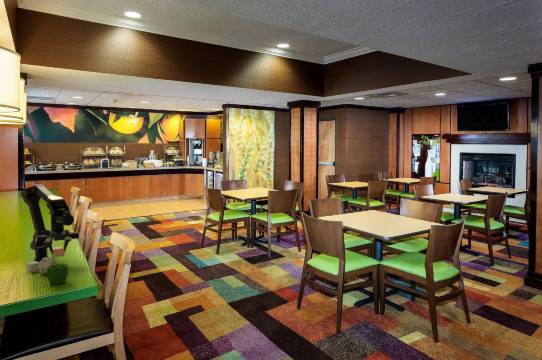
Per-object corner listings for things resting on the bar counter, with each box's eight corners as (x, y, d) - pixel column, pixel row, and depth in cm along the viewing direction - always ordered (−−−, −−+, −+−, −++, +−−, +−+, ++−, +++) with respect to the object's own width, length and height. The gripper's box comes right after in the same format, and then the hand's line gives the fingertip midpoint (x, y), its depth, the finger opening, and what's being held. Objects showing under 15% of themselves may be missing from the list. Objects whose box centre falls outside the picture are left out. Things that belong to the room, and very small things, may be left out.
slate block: (27, 271, 185) (27, 262, 184) (36, 269, 188) (36, 261, 188) (30, 272, 182) (30, 264, 182) (39, 270, 185) (39, 262, 185)
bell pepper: (63, 278, 175) (62, 257, 174) (71, 282, 170) (70, 260, 169) (43, 283, 169) (42, 261, 168) (50, 287, 163) (50, 265, 162)
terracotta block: (51, 255, 195) (51, 247, 195) (62, 253, 198) (62, 246, 198) (53, 257, 191) (52, 249, 191) (64, 256, 194) (64, 248, 194)
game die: (52, 279, 184) (66, 261, 186) (42, 279, 175) (57, 260, 178) (37, 269, 185) (51, 252, 187) (27, 268, 176) (42, 250, 179)
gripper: (37, 228, 181) (38, 260, 182) (80, 224, 192) (81, 254, 193) (35, 224, 190) (36, 255, 191) (76, 220, 201) (77, 249, 202)
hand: (58, 253), depth 194 cm, fingers closed on terracotta block, 5 cm apart
